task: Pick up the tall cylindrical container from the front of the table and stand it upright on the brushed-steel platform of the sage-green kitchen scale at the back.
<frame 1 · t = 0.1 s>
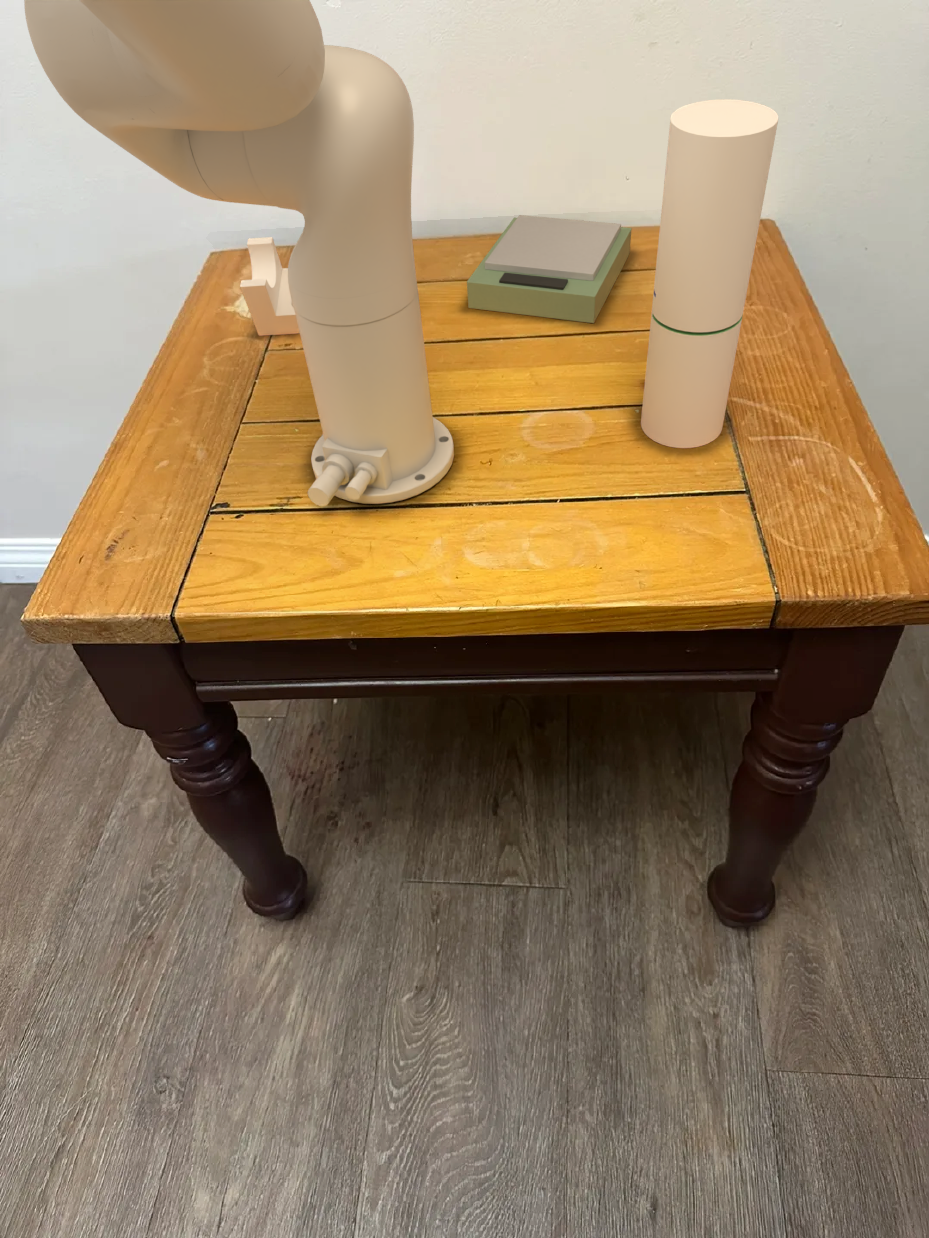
bracket: (321, 321, 95), on the table
kitchen scale: (551, 280, 97), on the table
cylindrical container: (681, 425, 77), on the table
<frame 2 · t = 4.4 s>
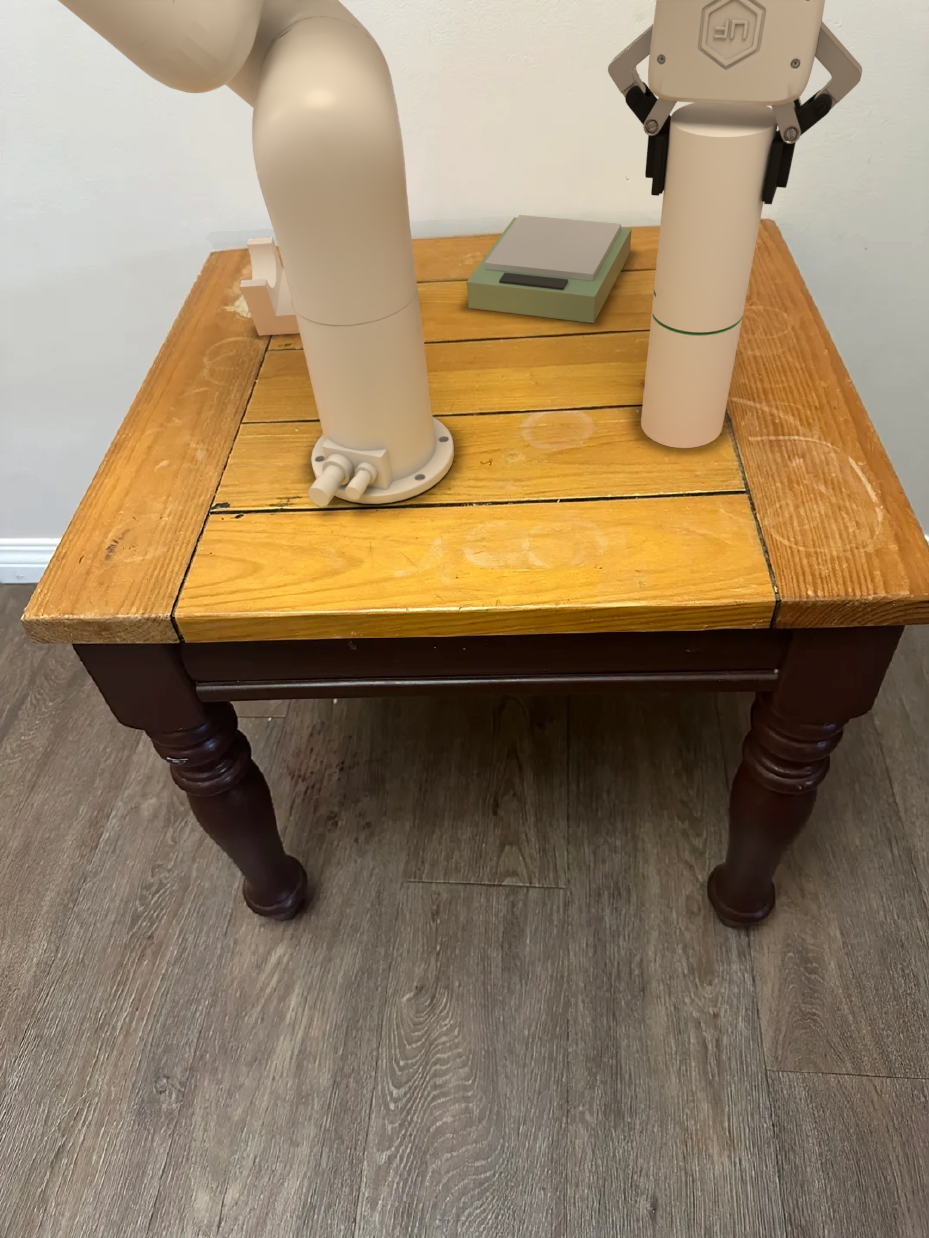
hand: (713, 190, 62), 20 cm above the table, tool pointing down, fingers closed on cylindrical container, 7 cm apart
cylindrical container: (681, 425, 77), on the table, touching gripper
everything else where it was.
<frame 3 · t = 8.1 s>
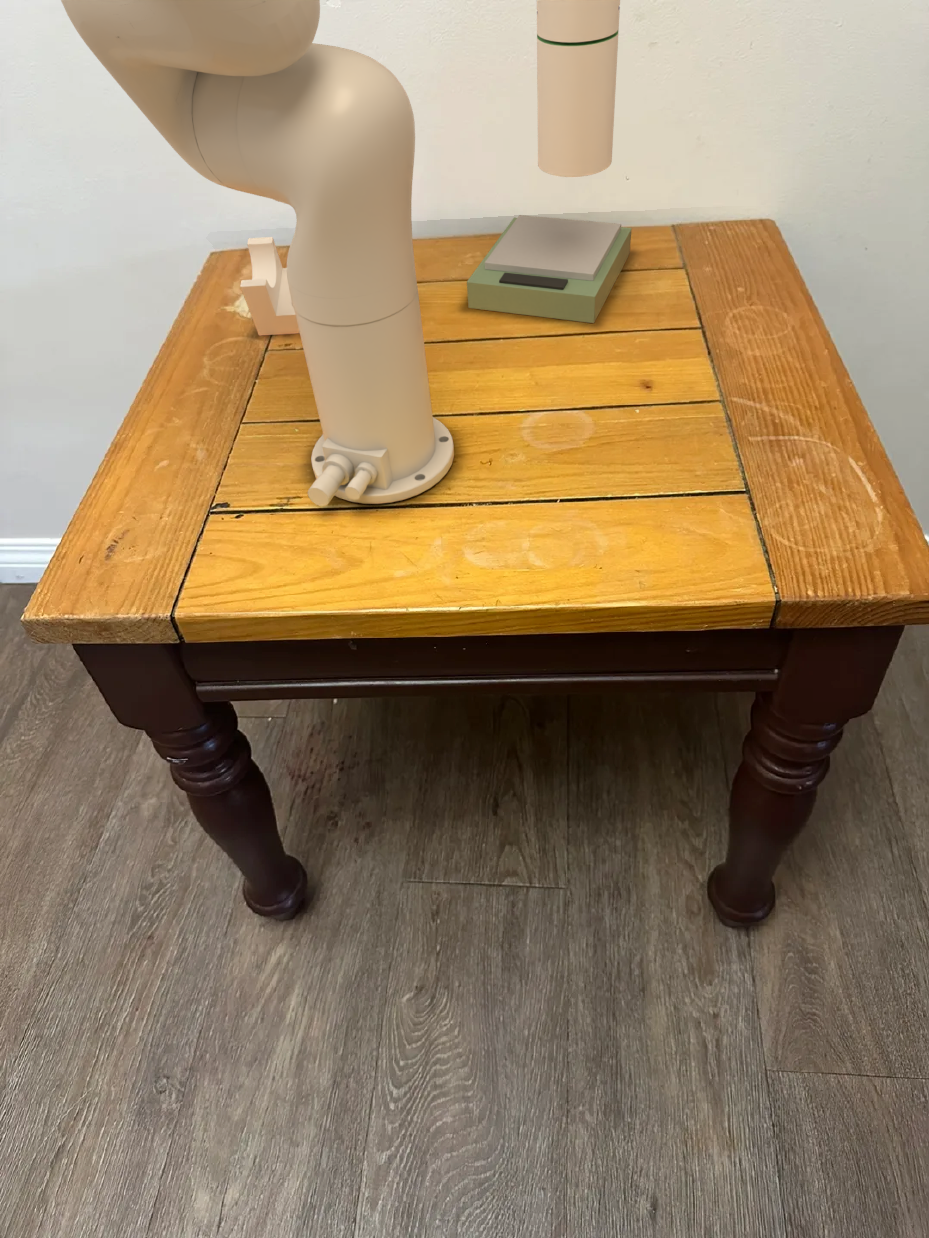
cylindrical container: (574, 164, 84), point 13 cm above the table, touching gripper
everything else where it was.
when the fingers open (24 cm above the table, at t = 11.9 s): cylindrical container stays where it is, resting on kitchen scale.
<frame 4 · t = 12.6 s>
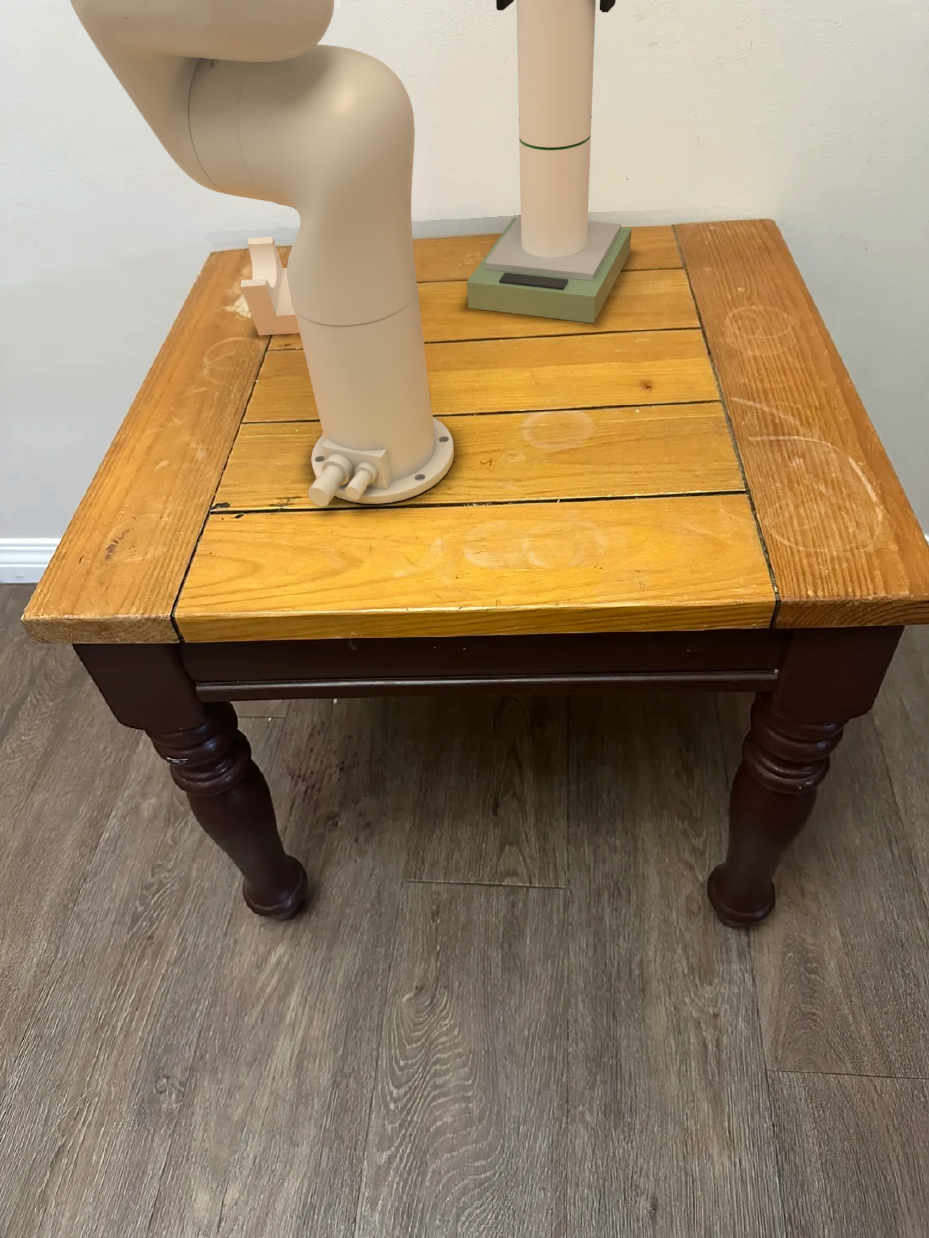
hand: (555, 7, 78), 25 cm above the table, tool pointing down, fingers open, 9 cm apart
cylindrical container: (554, 244, 95), point 4 cm above the table, touching kitchen scale
everything else where it was.
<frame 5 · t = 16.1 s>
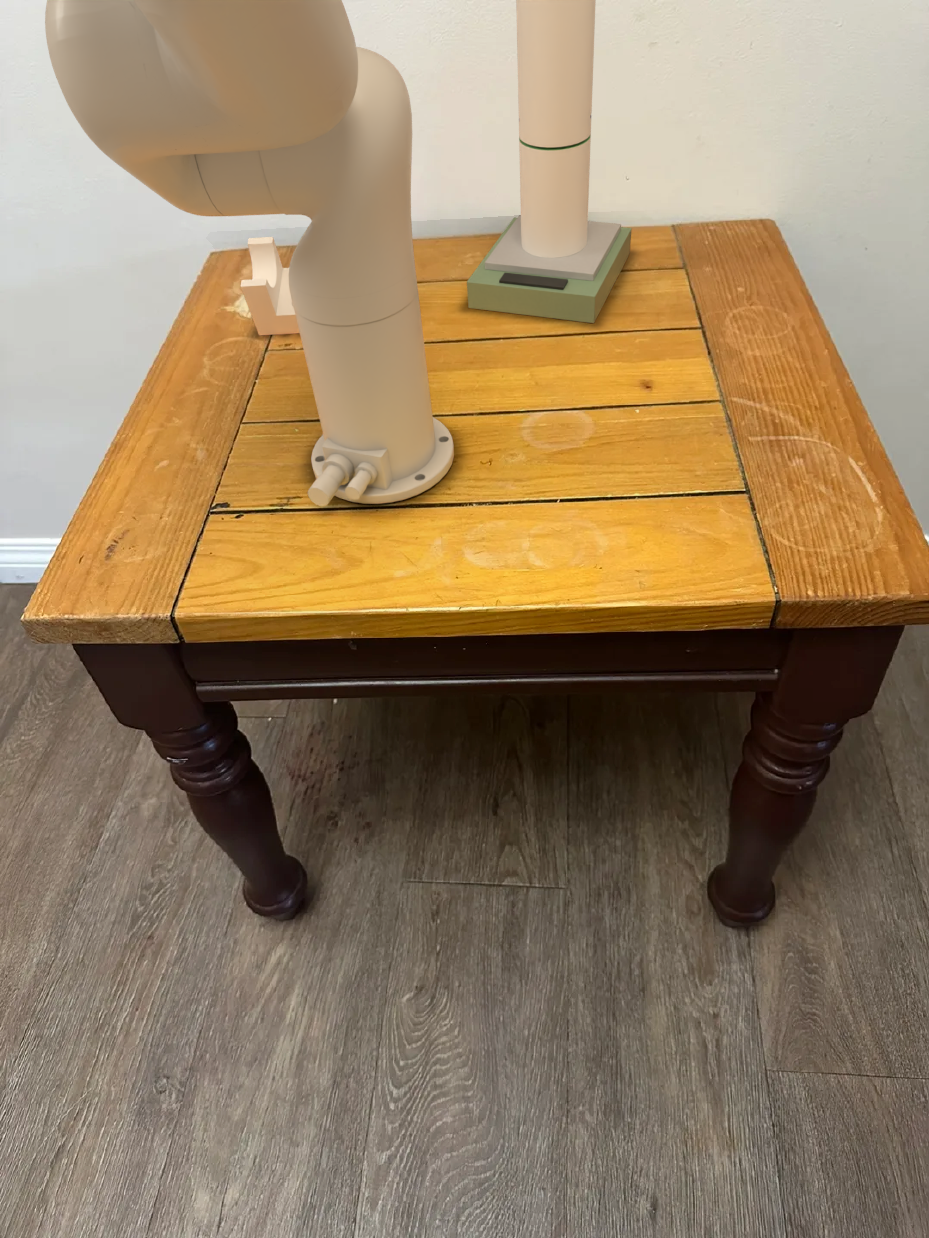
nothing on the table moved.
at the end: cylindrical container inside the target area on the kitchen scale (0.1 cm from its centre), point 3.6 cm above the kitchen scale's base; cylindrical container tilted 0°; the gripper is holding nothing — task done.
